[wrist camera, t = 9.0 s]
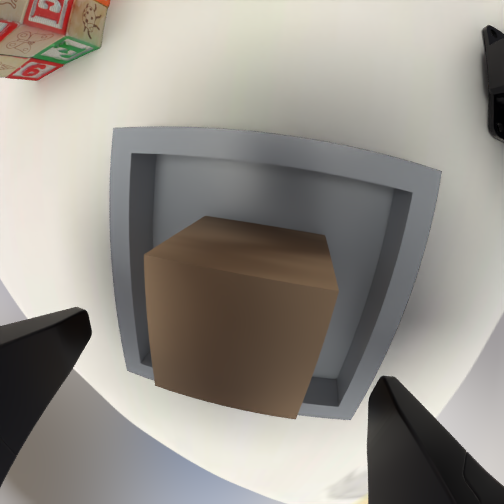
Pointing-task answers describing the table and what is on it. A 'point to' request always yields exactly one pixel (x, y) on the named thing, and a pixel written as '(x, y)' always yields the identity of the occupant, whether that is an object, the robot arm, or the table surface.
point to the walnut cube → (239, 313)
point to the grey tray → (284, 216)
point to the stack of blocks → (47, 34)
